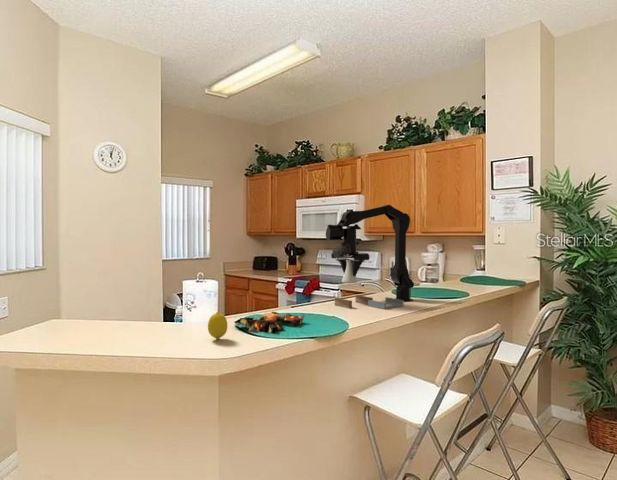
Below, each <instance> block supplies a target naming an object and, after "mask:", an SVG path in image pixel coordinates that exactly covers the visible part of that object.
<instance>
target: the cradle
mask: <svg viewBox="0 0 617 480" xmlns="http://www.w3.org/2000/svg"><path fill="white" fill-rule="evenodd" d="M367 306H368V307H372V308H376V309H382V310H388V309H393V308H400V307H404V301H403V300H400V299H394V298H393V297H389V296H387V297H386V296H385V299H384V300H383V301H378V300H368V305H367Z"/></svg>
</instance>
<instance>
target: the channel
mask: <svg viewBox="0 0 617 480" xmlns="http://www.w3.org/2000/svg"><path fill="white" fill-rule="evenodd" d="M373 299H374V297H370V296H366V295H365V296H364V295H360V294H356V295H355V299H354V300H355V303H358V304H363V305H367V306H368V300H373ZM334 306H337V307H341V308H346V309H350V310H351V309H353V300H351V299H350V300H349V299H346V298H345V299H344V298H339V297H334Z"/></svg>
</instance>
